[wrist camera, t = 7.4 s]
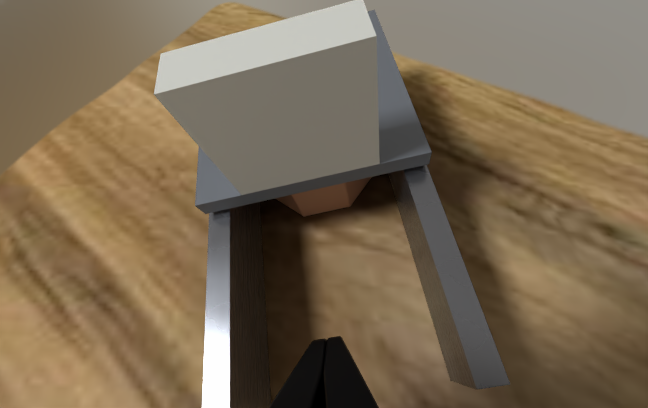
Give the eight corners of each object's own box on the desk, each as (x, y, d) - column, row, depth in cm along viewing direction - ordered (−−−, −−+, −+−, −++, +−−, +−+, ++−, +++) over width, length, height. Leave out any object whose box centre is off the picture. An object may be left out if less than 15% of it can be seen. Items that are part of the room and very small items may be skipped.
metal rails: (474, 376, 15) (510, 384, 11) (250, 412, 16) (201, 432, 12) (381, 99, 25) (380, 44, 20) (242, 133, 26) (213, 88, 22)
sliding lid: (429, 164, 15) (463, 12, 9) (205, 213, 16) (81, 113, 10) (374, 24, 21) (370, -132, 14) (211, 68, 22) (136, -59, 15)
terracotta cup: (384, 199, 21) (383, 157, 16) (271, 223, 21) (242, 189, 17) (360, 114, 25) (354, 61, 20) (265, 137, 25) (240, 90, 21)
